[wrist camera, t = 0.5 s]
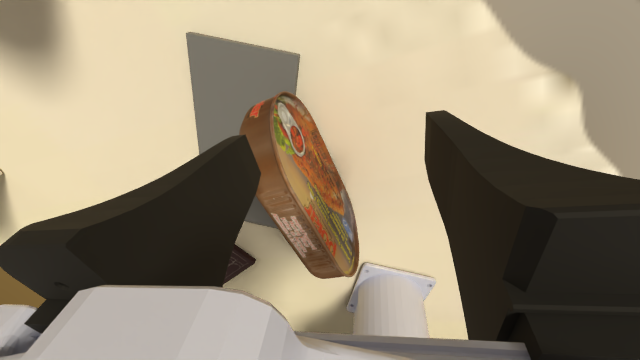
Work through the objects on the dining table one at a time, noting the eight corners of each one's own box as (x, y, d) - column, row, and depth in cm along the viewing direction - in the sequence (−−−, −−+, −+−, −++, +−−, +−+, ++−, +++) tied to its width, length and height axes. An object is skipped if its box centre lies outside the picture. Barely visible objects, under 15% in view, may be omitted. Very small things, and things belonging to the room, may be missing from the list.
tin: (360, 220, 28) (366, 299, 21) (330, 227, 28) (326, 306, 22) (293, 73, 20) (266, 122, 13) (255, 90, 21) (211, 144, 14)
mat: (281, 225, 29) (280, 229, 29) (208, 208, 30) (205, 212, 29) (300, 54, 20) (298, 56, 19) (190, 31, 20) (185, 32, 19)
